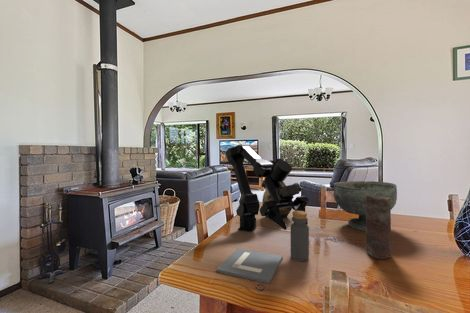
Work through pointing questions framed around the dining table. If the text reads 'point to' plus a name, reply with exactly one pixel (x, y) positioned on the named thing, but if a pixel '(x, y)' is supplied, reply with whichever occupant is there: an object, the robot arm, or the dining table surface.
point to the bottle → (299, 236)
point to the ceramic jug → (283, 211)
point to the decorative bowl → (361, 198)
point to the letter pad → (251, 265)
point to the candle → (378, 226)
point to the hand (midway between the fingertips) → (296, 227)
